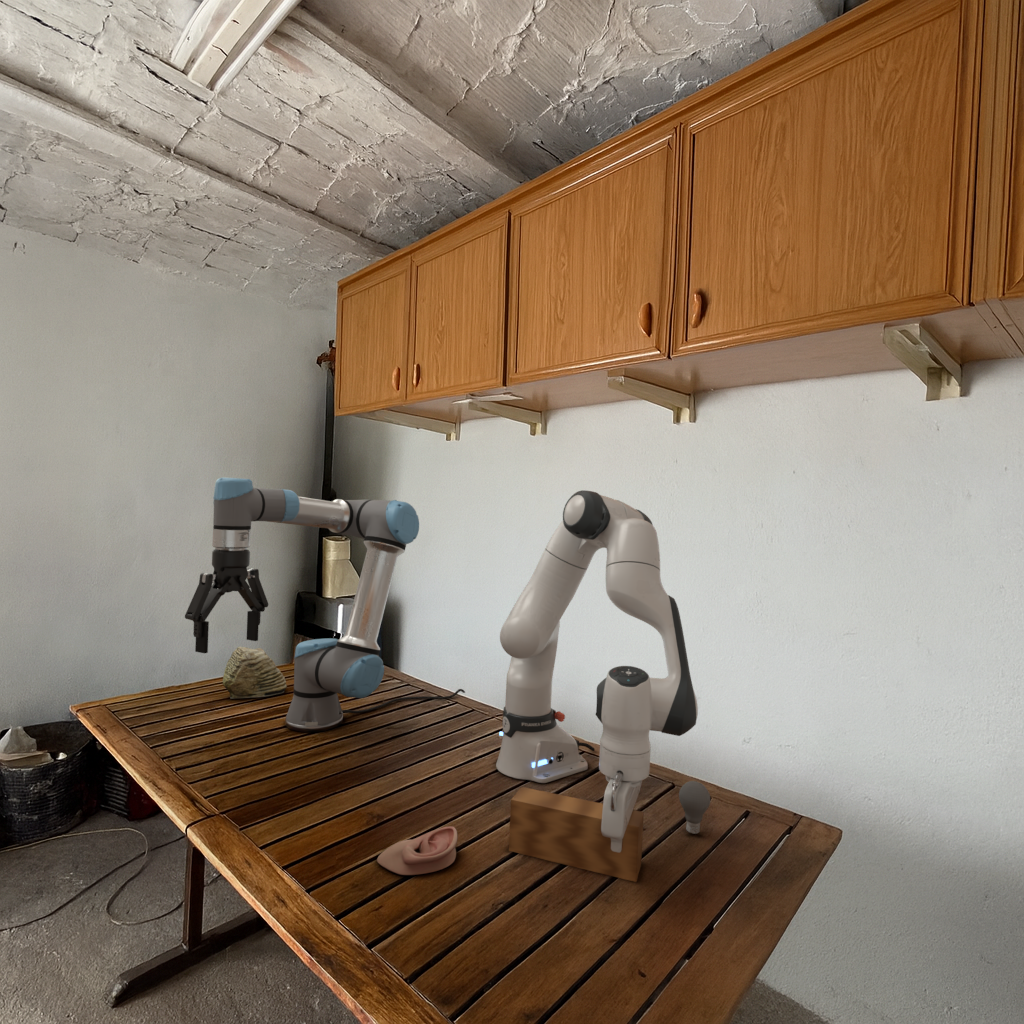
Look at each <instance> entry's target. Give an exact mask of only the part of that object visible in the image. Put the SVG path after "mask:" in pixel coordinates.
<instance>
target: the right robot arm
mask: <svg viewBox="0 0 1024 1024" xmlns="http://www.w3.org/2000/svg"><path fill="white" fill-rule="evenodd" d="M600 549H606V562H605V591H606V594H607V597H608V598H609V600H610V601H611V603H612V604H613V605H614V606H615V607H616V608H617V609H619V610H620V611H622V612H623V613H625V614H627V615H628V616H631V617H633V618H635V619H637V620H640V621H642V622H644V623H645V624H648V625H649V626H651V627H652V628H654V629H655V630H656V631H657V632H658V634H659V635H660V636H661V640H662V644H663V648H664V656H665V662H666V669H667V676H665V677H663V678H661V677H660V678H659V677H650V675H649V673H648V672H646V671H645V670H644V669H643V668H642V669H641V668H639V667H636V666H633V665H632V666H631V665H619V666H615V667H613V668H611V669H609V670H608V672H607V674H606V676H605V678H604V679H602V680H601V681H600V682H599V683H598V684H597V686H596V709H595V710H596V711H595V716H596V718H597V719H598V720H599V722H600V723H601V724H602V734H601V736H600V740H599V756H598V757H599V760H598V770H599V771H600V773H601V774H603V775H604V776H605V780H606V781H607V785H606V787H605V789H604V793H603V801H602V804H603V811H602V824H601V832H602V835H603V836H604V837H608V838H611V850H612V851H614V852H618V853H620V852H621V850H622V847H623V837H624V834H625V831H626V828H627V825H628V823H629V820H630V817H631V814H632V811H633V810H634V808H635V805H636V802H637V800H638V797H639V795H640V792H641V788H642V784H643V781H644V780H646V779H647V778H649V776H650V770H651V769H650V768H651V747H652V746H651V741H650V731H652V732H661V734H666V735H672V736H676V737H680V736H683V735H684V734H686V733H688V732H689V731H690V730H692V729H693V728H694V727H695V726H696V724H697V720H698V714H699V705H698V704H699V703H698V699H697V696H696V692H695V690H694V686H693V682H692V677H691V671H690V666H689V659H688V655H687V647H686V640H685V635H684V630H683V626H682V620H681V614H680V609H679V607H678V606H679V605H678V604H677V601H676V599H675V598H674V597H673V596H671V595H669V594H668V593H667V592H666V590H665V588H664V586H663V583H662V579H661V552H660V542H659V537H658V533H657V530H656V528H655V526H654V525H653V522H652V520H651V519H650V517H649V516H648V515H646V513H644V512H642V511H641V510H640V509H636V508H634V507H632V506H631V505H629V504H627V503H625V502H624V501H621V500H619V499H614V498H611V497H608V496H605V495H602V494H599V493H598V492H596V491H591V490H586V489H585V490H578V491H576V492H575V493H573V494H572V495H571V496H570V497H569V498H568V500H567V501H566V503H565V504H564V508H563V511H562V521H561V522H560V523H559V524H558V526H557V528H556V529H555V530H554V532H553V533H552V535H551V537H550V538H549V540H548V542H547V544H546V546H545V548H544V550H543V552H542V554H541V557H540V559H539V560H538V562H537V565H536V566H535V569H534V571H533V573H532V575H531V577H530V579H529V581H528V582H527V584H526V585H525V587H523V590H522V591H521V593H520V595H519V596H518V598H517V600H516V601H515V603H514V605H513V607H512V608H511V610H510V612H509V614H508V615H507V617H506V619H505V621H504V623H503V624H502V626H501V628H500V632H499V642H500V645H501V647H502V649H503V650H504V652H505V653H506V654H507V655H509V656H510V657H511V658H510V663H509V666H508V670H507V673H506V680H505V682H506V683H505V706H503V711H502V731H499V734H498V735H499V736H501V737H502V739H501V745H500V749H499V754H498V757H497V760H496V762H495V768H496V769H497V771H498V772H500V773H501V774H502V775H505V776H507V777H510V778H513V779H517V780H525V781H526V780H527V781H532V782H535V783H539V784H546V783H550V782H553V781H556V780H559V779H562V778H565V777H568V776H573V775H575V774H578V773H581V772H584V771H587V770H588V769H589V766H588V765H589V764H588V761H587V760H586V759H585V758H584V757H583V756H582V755H581V754H580V752H579V751H580V747H585V748H587V749H589V750H590V751H591V752H595V750H596V749H595V747H593V746H592V745H590V744H589V743H587V742H582V741H581V742H580V740H578V739H577V738H574V737H573V736H572V735H571V734H570V733H569V732H568V731H566V730H565V729H564V728H563V727H562V726H560V725H559V724H558V723H557V721H558V722H561V723H562V722H564V721H565V719H566V715H565V713H564V712H561V711H560V710H559V711H558V710H557V711H556V710H555V709H553V708H552V696H553V695H552V693H553V678H554V670H555V663H556V658H557V651H558V644H559V643H558V642H559V632H560V628H561V627H560V626H561V624H560V623H561V621H560V620H561V619H562V617H563V615H564V614H565V612H566V610H567V608H568V607H569V605H570V603H571V602H572V600H573V599H574V597H575V594H576V593H577V591H578V589H579V587H580V585H581V583H582V580H583V578H584V576H585V574H586V572H587V571H588V569H589V566H590V564H591V562H592V560H593V558H594V556H595V554H596V552H598V551H599V550H600Z"/></svg>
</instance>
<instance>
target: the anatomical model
mask: <svg viewBox="0 0 1024 1024" xmlns="http://www.w3.org/2000/svg"><path fill="white" fill-rule="evenodd" d="M458 837H459V836H458V830H457V828H456V827H454V826H444V827H440V828H437V829H434V830H431V831H429V832H426V833H424V834H422V835H420V836H417V837H416V838H413V839H404V840H400V841H398V842H396V843H394V844H392V845H390V846H389V847H387V848H386V849H385V850H383V851H382V852H381V853H380V854H379V855H378V857H377V858H376V862H377V864H378V865H380V866H381V867H383V868H384V869H386V870H388V871H390V872H392V873H395V874H397V875H400V876H415V875H423V874H429V873H434V872H437V871H440V870H443V869H445V868H447V867H449V866H451V865H452V864H453V863H454V862H455V860H456V858H457V848H456V846H457V845H458Z"/></svg>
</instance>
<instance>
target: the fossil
mask: <svg viewBox="0 0 1024 1024" xmlns="http://www.w3.org/2000/svg"><path fill="white" fill-rule="evenodd" d="M222 676H223V677H222V685H223V687H224V688H225V690H226V691H228V693H229V698H230V699H250V698H264V697H271V696H275V695H281V694H284V693H285V691H286V689H287V687H288V686H287V680H286V678H285V676H284V674H283V673H282V672H281V669H279V668H278V667H277V665H276V663H275V662H274V660H273V659H272V658H271V657H270V656H269V655H268V654H267V653H266V652H265V650H264V649H263V648H260V647H258V648H251V647H247V646H246V647H245V646H238V647H237V648H236V649H235V650H233V651H232V653H231V656H230V657H229V659H228V660H227V663H226V666H225V668H224V671H223V675H222Z"/></svg>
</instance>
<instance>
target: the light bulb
mask: <svg viewBox="0 0 1024 1024" xmlns="http://www.w3.org/2000/svg"><path fill="white" fill-rule="evenodd" d="M678 799H679V803H680V805H681V807H682V810H683V811H684V818H685V820H686V824H685V829H686V832H688V833H690V834H691V835H692V834H693V835H694V834H695V835H696V834H699V833H700V831H701V829H700V828H701V823H702V821H703V816H704V814H705V813H706V811H707V810H708V808H709V807H710V804H711V794H710V792H709V790H708V788H707V787H706V786H705V785H704V784H703V783H702V782H700V781H697V780H689V781H687V782H685V783H683V785H682V786H681V787H680V788H679V792H678Z"/></svg>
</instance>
